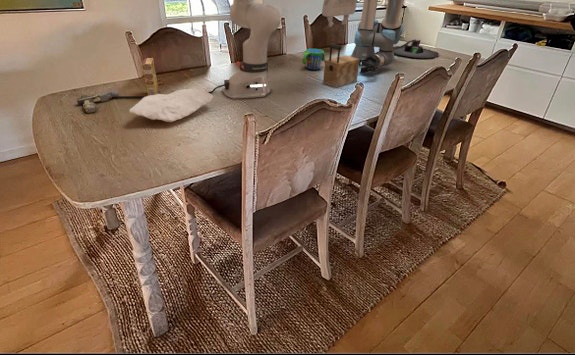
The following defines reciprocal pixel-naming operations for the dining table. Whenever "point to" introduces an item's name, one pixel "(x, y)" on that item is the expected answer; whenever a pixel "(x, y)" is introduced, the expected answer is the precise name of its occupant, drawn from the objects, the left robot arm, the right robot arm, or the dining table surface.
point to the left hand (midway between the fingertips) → (337, 25)
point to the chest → (340, 74)
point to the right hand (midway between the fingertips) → (350, 67)
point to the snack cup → (313, 58)
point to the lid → (339, 60)
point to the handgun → (95, 100)
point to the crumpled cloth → (171, 104)
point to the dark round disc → (414, 51)
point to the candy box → (150, 76)
